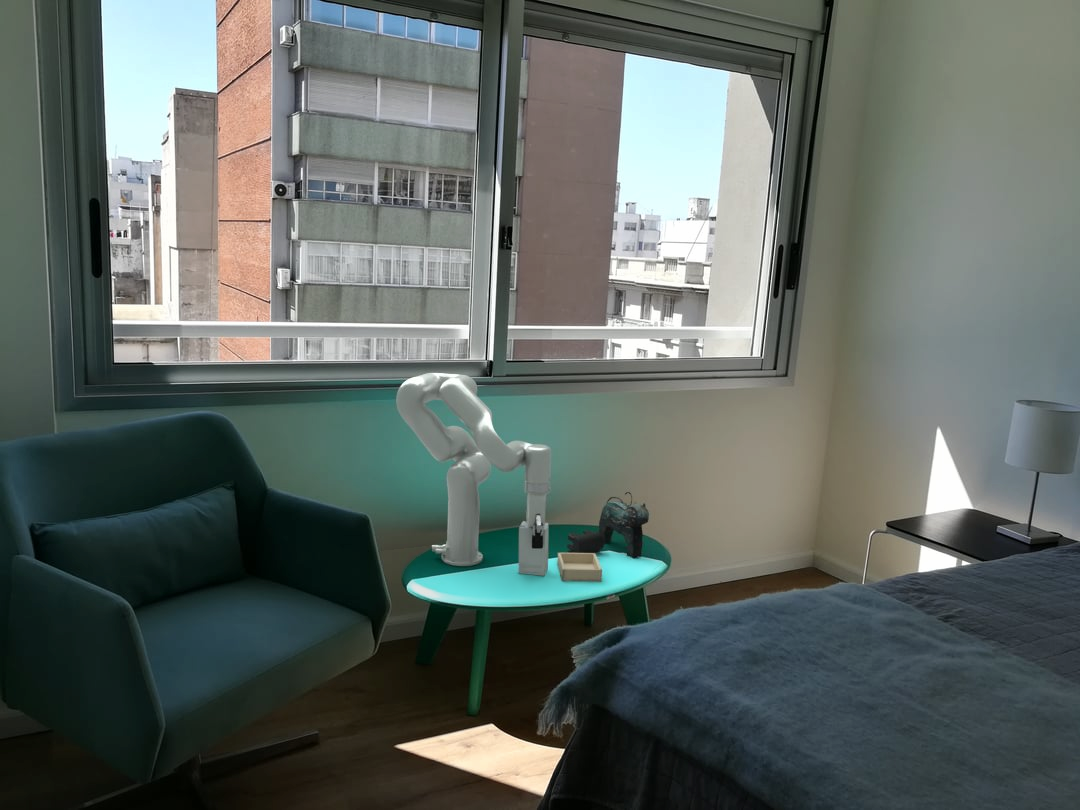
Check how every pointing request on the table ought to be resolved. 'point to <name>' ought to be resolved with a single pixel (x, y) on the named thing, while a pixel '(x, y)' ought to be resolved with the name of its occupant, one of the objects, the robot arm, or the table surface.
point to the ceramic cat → (624, 523)
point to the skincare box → (532, 551)
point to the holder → (579, 567)
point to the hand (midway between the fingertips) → (535, 542)
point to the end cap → (585, 542)
